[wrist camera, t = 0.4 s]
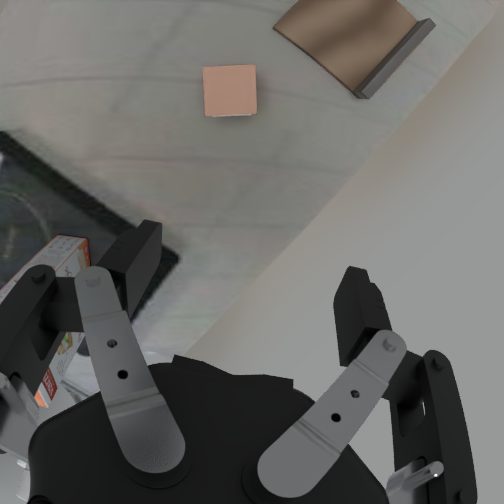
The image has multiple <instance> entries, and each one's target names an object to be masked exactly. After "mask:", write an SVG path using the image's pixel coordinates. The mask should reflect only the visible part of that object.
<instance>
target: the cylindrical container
mask: <svg viewBox="0 0 504 504" xmlns="http://www.w3.org/2000/svg"><path fill="white" fill-rule="evenodd" d="M29 494H30V469H29V464H28V463H27V465H26V468H25V470H24V473H23V476H22V478H21V481H20V484H19V487H18V489H17V492H16V496H17V497H19V498H20V499H22V500H24V501H26V502H28V499H29Z"/></svg>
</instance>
